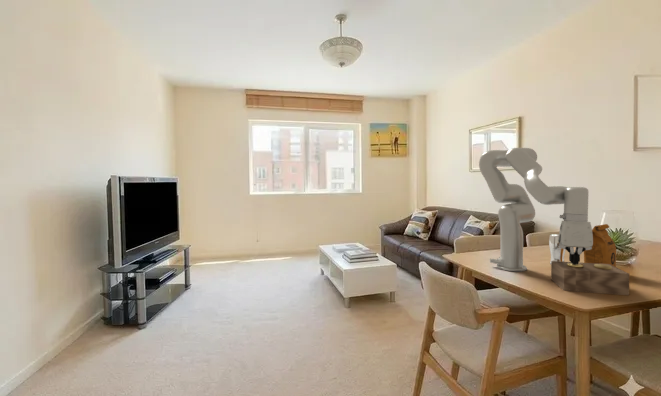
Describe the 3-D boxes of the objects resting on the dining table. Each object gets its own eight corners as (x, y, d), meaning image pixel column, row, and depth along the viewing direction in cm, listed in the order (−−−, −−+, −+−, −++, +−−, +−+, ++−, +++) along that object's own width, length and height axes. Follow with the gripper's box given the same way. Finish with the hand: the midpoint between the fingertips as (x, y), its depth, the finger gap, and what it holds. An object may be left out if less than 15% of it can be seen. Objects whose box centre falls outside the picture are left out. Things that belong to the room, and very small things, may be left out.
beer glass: (565, 263, 156) (565, 234, 156) (566, 267, 150) (567, 236, 150) (548, 262, 160) (548, 233, 159) (549, 265, 154) (549, 235, 153)
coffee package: (621, 273, 138) (622, 224, 137) (605, 277, 133) (606, 227, 132) (594, 268, 148) (595, 222, 147) (579, 271, 143) (580, 224, 142)
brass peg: (569, 284, 122) (569, 265, 122) (564, 280, 127) (564, 262, 127) (585, 285, 120) (585, 266, 120) (579, 281, 125) (580, 263, 125)
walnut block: (563, 290, 119) (564, 267, 119) (551, 279, 132) (551, 259, 132) (628, 295, 113) (629, 271, 112) (608, 283, 126) (609, 262, 125)
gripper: (556, 218, 121) (555, 264, 122) (603, 219, 117) (602, 267, 118) (550, 216, 129) (549, 259, 130) (593, 217, 124) (592, 262, 125)
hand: (574, 263), depth 124 cm, fingers closed
